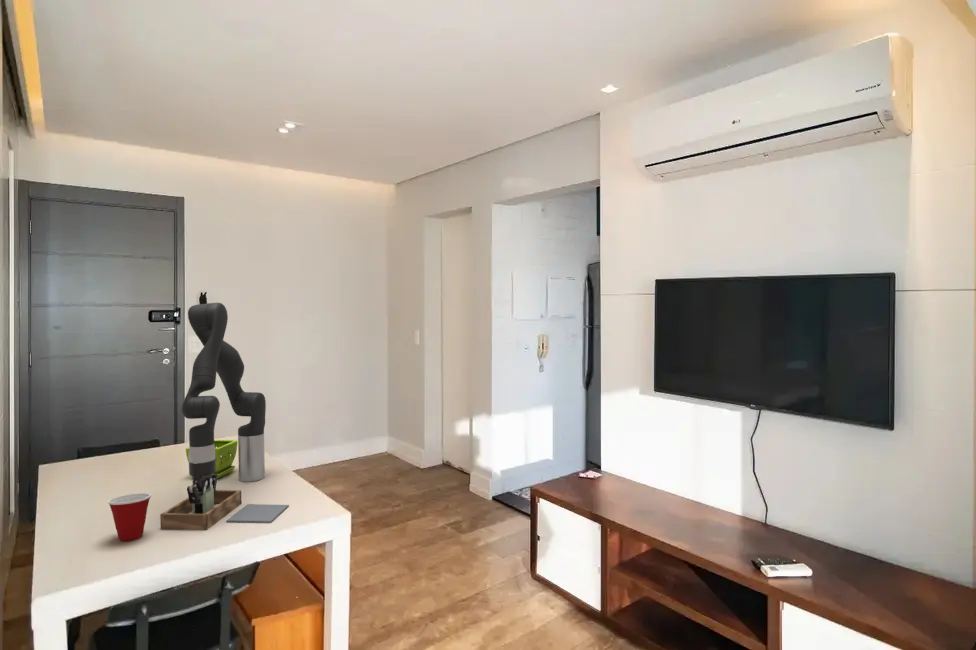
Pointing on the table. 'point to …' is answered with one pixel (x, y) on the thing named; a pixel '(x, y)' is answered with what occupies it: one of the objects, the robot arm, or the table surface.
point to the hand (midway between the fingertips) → (203, 511)
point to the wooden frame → (184, 521)
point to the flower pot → (224, 450)
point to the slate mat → (258, 513)
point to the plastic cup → (129, 515)
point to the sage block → (206, 501)
